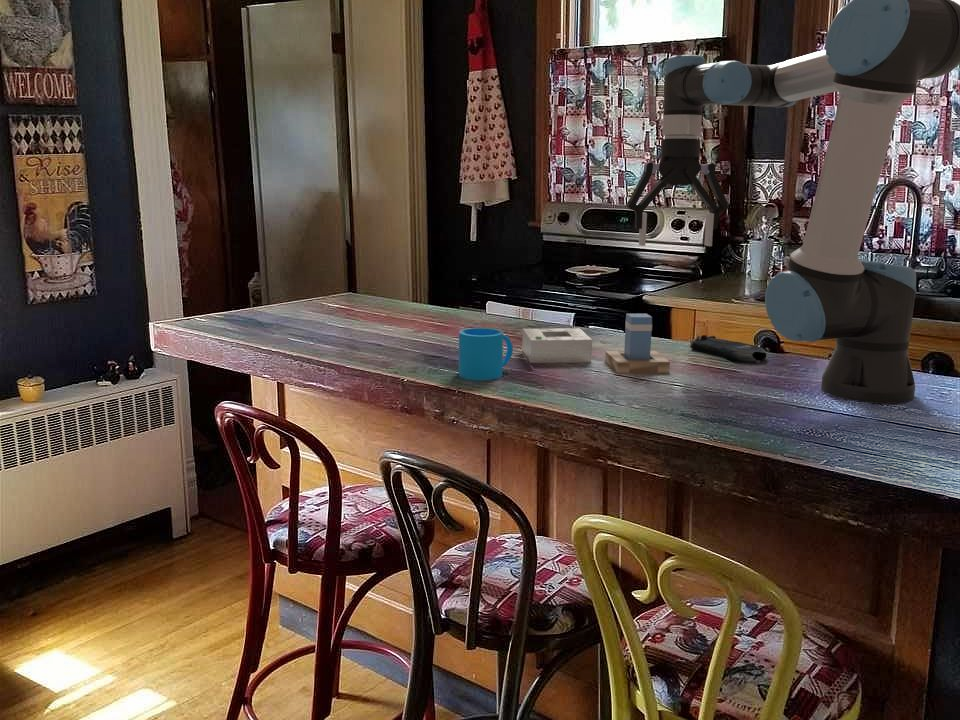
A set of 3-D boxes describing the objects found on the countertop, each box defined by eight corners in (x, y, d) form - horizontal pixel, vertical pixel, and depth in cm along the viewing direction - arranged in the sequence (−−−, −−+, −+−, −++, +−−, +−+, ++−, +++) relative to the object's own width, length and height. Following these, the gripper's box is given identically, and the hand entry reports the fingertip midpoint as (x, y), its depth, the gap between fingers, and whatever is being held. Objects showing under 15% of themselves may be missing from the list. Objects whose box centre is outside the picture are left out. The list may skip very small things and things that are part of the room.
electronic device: (687, 360, 192) (748, 363, 181) (687, 334, 192) (749, 335, 181) (713, 361, 198) (775, 363, 187) (714, 335, 198) (776, 336, 186)
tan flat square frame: (669, 374, 172) (670, 361, 172) (617, 375, 171) (617, 362, 171) (654, 362, 182) (655, 350, 182) (604, 363, 181) (605, 351, 181)
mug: (478, 382, 165) (479, 338, 163) (449, 374, 171) (449, 331, 169) (526, 372, 173) (527, 330, 171) (497, 365, 179) (497, 324, 177)
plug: (649, 368, 175) (652, 317, 173) (628, 369, 174) (631, 317, 172) (643, 363, 179) (646, 313, 177) (623, 364, 178) (625, 313, 176)
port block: (591, 364, 180) (592, 337, 179) (530, 365, 179) (531, 338, 177) (578, 351, 191) (579, 326, 190) (522, 352, 190) (522, 326, 189)
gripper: (736, 138, 186) (729, 243, 190) (615, 137, 184) (610, 243, 189) (749, 138, 178) (741, 247, 183) (622, 136, 177) (618, 246, 181)
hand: (675, 245), depth 186 cm, fingers open, 13 cm apart
